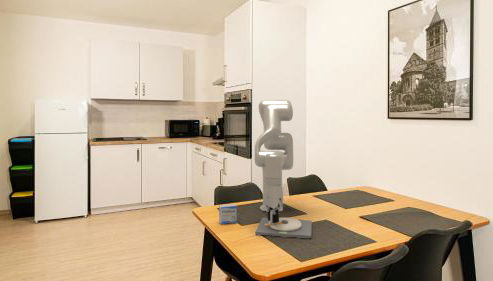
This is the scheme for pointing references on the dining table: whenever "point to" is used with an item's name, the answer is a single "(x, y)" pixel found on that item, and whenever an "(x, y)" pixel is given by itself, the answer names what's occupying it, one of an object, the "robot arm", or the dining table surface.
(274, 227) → the dial
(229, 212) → the medicine box
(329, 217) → the dining table surface
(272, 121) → the robot arm
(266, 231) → the dial board
